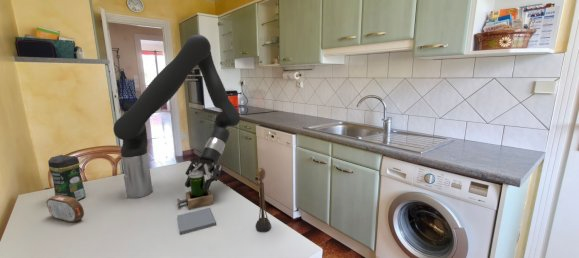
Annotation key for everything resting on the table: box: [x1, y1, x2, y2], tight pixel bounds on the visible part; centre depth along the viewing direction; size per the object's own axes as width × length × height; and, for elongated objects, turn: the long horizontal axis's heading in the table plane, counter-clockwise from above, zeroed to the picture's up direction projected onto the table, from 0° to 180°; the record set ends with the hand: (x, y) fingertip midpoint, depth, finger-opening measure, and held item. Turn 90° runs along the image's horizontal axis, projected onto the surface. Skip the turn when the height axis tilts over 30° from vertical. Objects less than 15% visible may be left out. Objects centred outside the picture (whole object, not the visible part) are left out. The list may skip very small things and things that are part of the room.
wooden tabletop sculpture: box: [254, 167, 272, 233], centre depth 80 cm, size 6×5×20 cm
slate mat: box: [176, 207, 217, 235], centre depth 87 cm, size 11×11×1 cm
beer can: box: [189, 171, 206, 199], centre depth 100 cm, size 5×5×12 cm
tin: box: [46, 194, 85, 223], centre depth 90 cm, size 15×3×8 cm, turn 71°
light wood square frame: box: [176, 188, 214, 211], centre depth 100 cm, size 12×9×4 cm
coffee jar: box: [47, 154, 87, 202], centre depth 105 cm, size 10×8×19 cm
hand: (195, 188), depth 99 cm, fingers open, 8 cm apart
